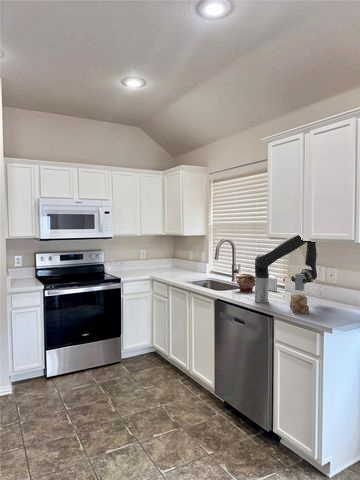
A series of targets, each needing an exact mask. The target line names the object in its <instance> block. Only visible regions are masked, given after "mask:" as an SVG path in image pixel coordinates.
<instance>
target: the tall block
mask: <svg viewBox="0 0 360 480" xmlns="http://www.w3.org/2000/svg"><path fill="white" fill-rule="evenodd" d="M294 277H295V282H294V291H299V292H300V291H301V292H303V291H304V290H305V284H304V283H302V280H303V279H304V274H299V273H295V274H294Z"/></svg>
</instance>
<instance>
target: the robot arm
mask: <svg viewBox="0 0 360 480" xmlns="http://www.w3.org/2000/svg"><path fill="white" fill-rule="evenodd" d="M316 243H317V241H316V242H311V241H303V240H301V237H300V236H299V235H298V234H296V235H293V236H291V237H289V238H286V239H285V240H283V241H282V242H280V243H279V244H278V245H277V246H276V247H275V248H273V249H272V250H270V251H268V252H266V253H265V254H258V255H257V256H256V257H255V260H254V274H255V276H254V277H255V286H254V302H255V303H263V304H264V303H268V302H269V290H268V288H269V276H270V275H269V266H271V265H272V264H273V263H275V262H276V261H278V260H280V259H281V258H283V257H285V256H287V255H289V254H291V253H292V252H294V251H296V250H297V249H299V248H301V247H302V246H303V245H305V244H306V251H305V261H304V262H305V263H304V264H305V266H308V267H310V269H309V268H302V270H301V272H299V273H298V274H304V279H303V280H302V283H304V285H305V284H308V283H313V281H315V280H316V279H317V277H318V272H317V265H316V264H317V256H318V254H317V244H316ZM290 277H291V279H290V280H291V282H293V283H295V276H293V275H292V276H290Z"/></svg>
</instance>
